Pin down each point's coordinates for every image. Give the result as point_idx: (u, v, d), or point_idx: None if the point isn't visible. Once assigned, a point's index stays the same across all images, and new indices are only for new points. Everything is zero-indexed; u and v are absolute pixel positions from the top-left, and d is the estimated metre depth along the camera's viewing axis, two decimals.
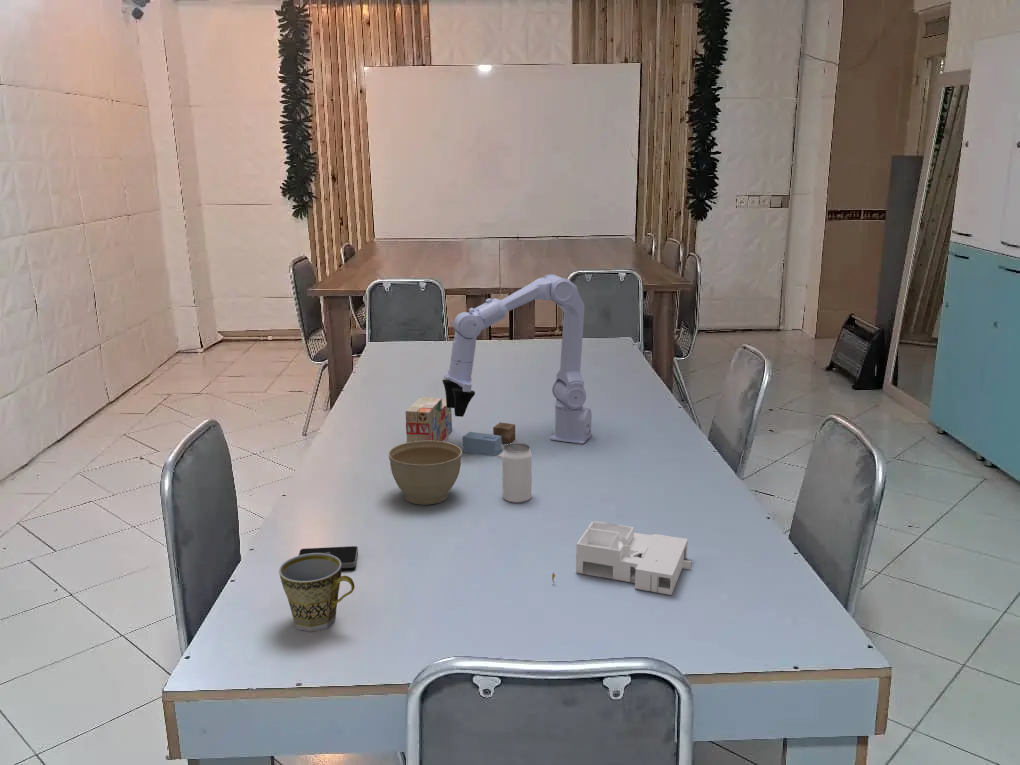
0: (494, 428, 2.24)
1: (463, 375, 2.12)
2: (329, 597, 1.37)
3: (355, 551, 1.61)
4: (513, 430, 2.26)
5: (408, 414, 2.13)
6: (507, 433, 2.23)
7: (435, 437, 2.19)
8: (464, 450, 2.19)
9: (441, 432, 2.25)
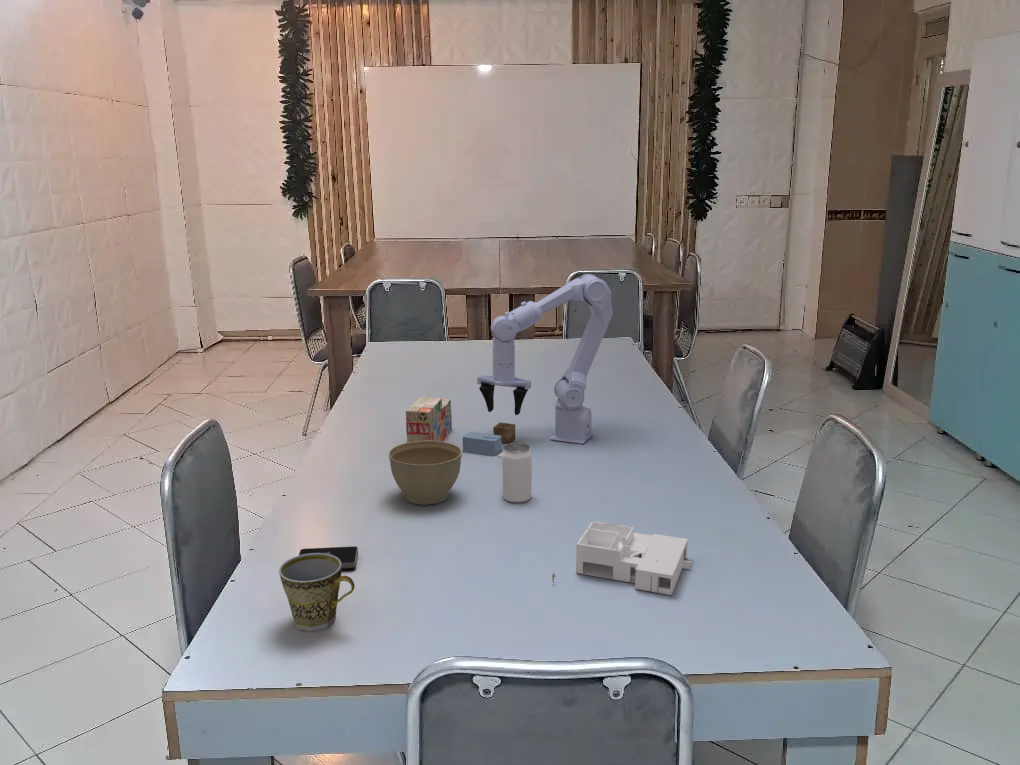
0: (494, 428, 2.24)
1: (513, 375, 2.20)
2: (329, 597, 1.37)
3: (355, 551, 1.61)
4: (513, 430, 2.26)
5: (408, 414, 2.13)
6: (507, 433, 2.23)
7: (436, 437, 2.19)
8: (464, 450, 2.19)
9: (441, 432, 2.25)
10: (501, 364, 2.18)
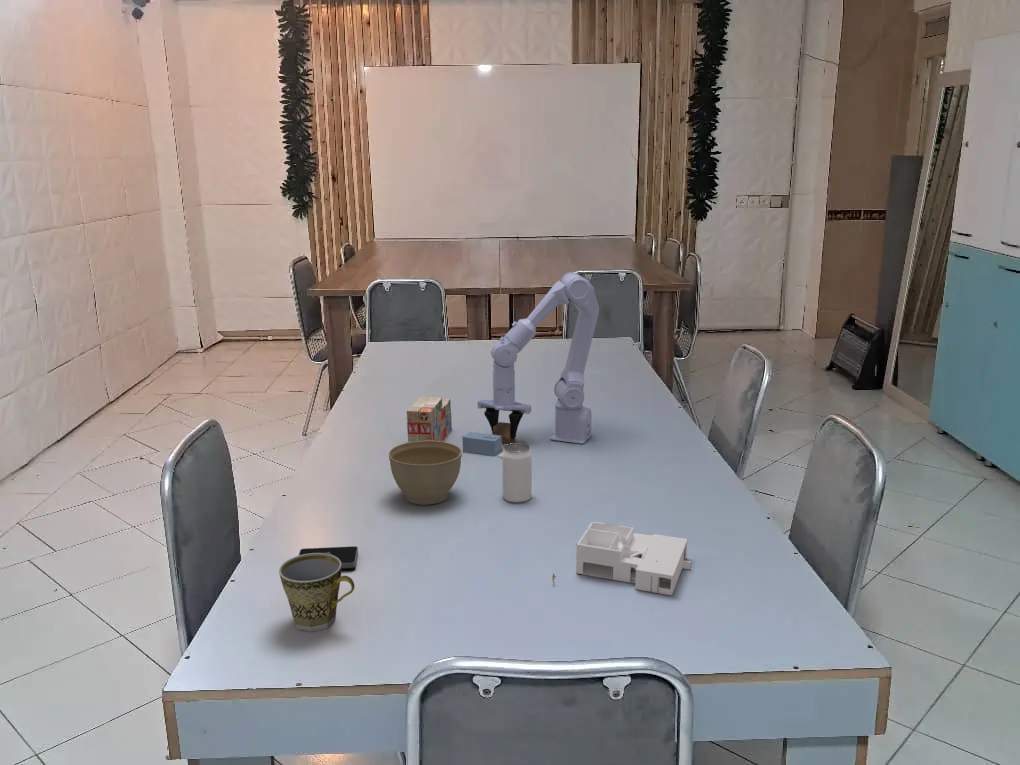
0: (494, 428, 2.24)
1: (513, 400, 2.22)
2: (329, 597, 1.37)
3: (355, 551, 1.61)
4: None
5: (409, 414, 2.14)
6: (507, 433, 2.23)
7: (436, 437, 2.20)
8: (464, 450, 2.19)
9: (441, 432, 2.25)
10: (501, 389, 2.20)
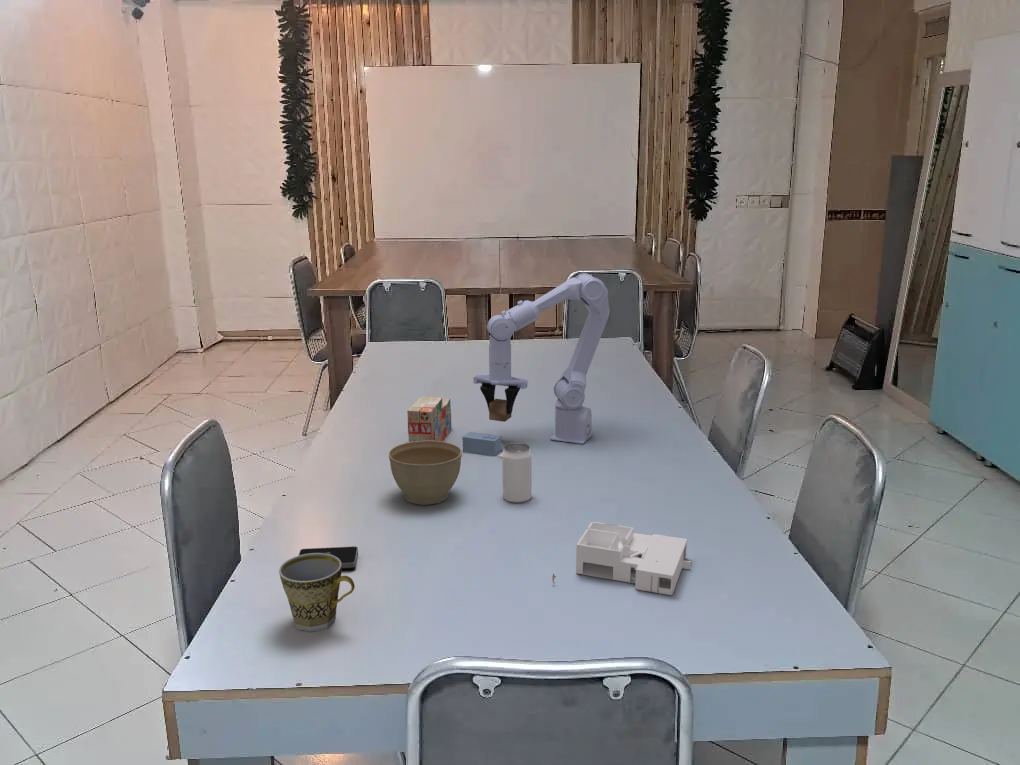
0: (490, 404, 2.21)
1: (510, 374, 2.20)
2: (329, 597, 1.37)
3: (355, 551, 1.61)
4: None
5: (410, 414, 2.14)
6: (503, 409, 2.20)
7: (437, 437, 2.20)
8: (464, 450, 2.19)
9: (442, 431, 2.25)
10: (497, 363, 2.17)
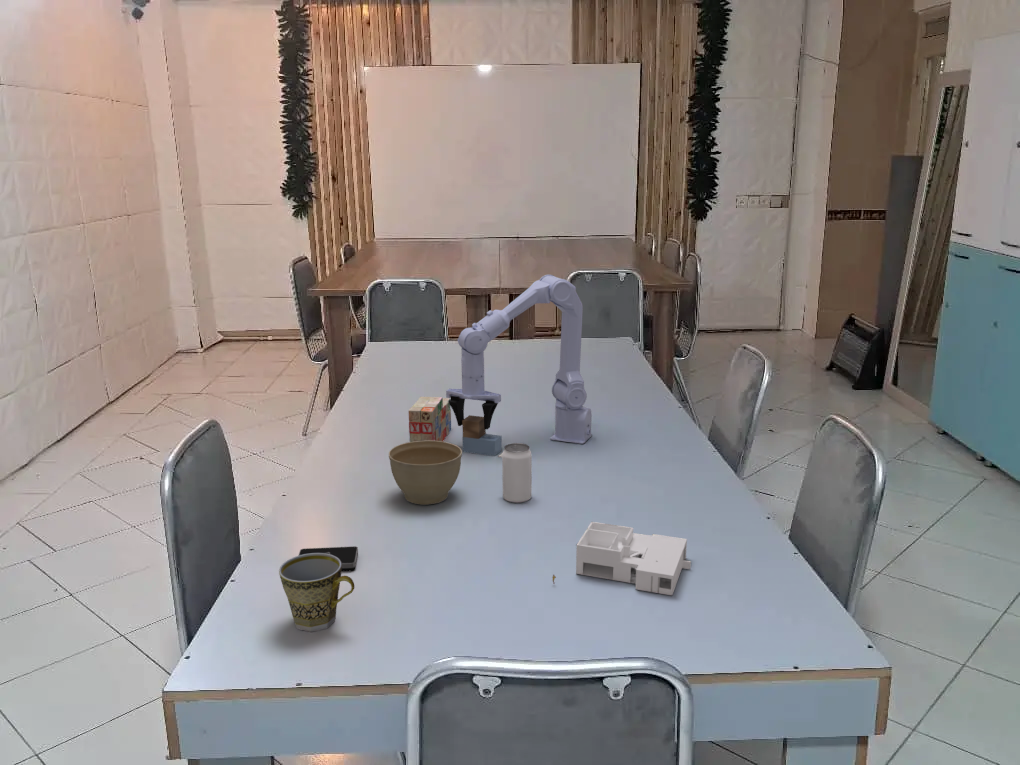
0: (463, 421, 2.17)
1: (483, 388, 2.14)
2: (329, 597, 1.37)
3: (355, 551, 1.61)
4: (483, 423, 2.18)
5: (411, 413, 2.14)
6: (477, 426, 2.16)
7: (438, 436, 2.20)
8: (464, 450, 2.19)
9: (442, 431, 2.26)
10: (470, 377, 2.12)
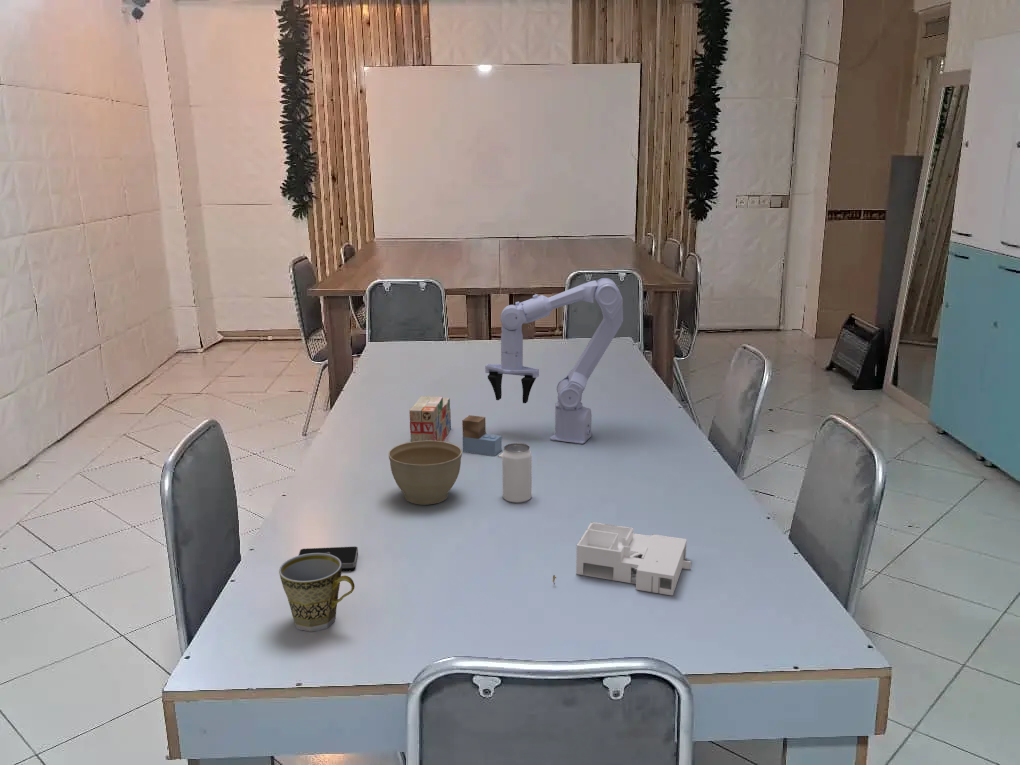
0: (463, 421, 2.17)
1: (521, 364, 2.23)
2: (329, 597, 1.37)
3: (355, 551, 1.61)
4: (483, 423, 2.18)
5: (412, 413, 2.14)
6: (477, 426, 2.16)
7: (438, 436, 2.20)
8: (464, 450, 2.19)
9: (442, 431, 2.26)
10: (509, 353, 2.20)
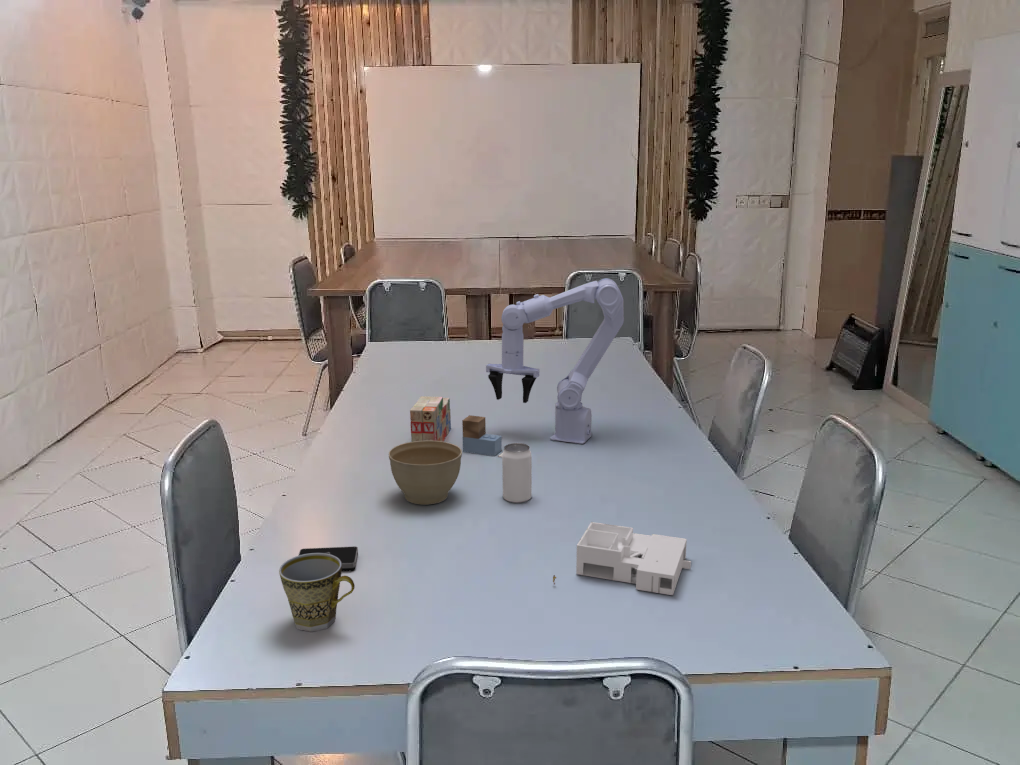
0: (463, 421, 2.17)
1: (522, 363, 2.23)
2: (329, 597, 1.37)
3: (355, 551, 1.61)
4: (483, 423, 2.18)
5: (413, 413, 2.14)
6: (477, 426, 2.16)
7: (439, 436, 2.20)
8: (464, 450, 2.19)
9: (443, 431, 2.26)
10: (510, 352, 2.21)
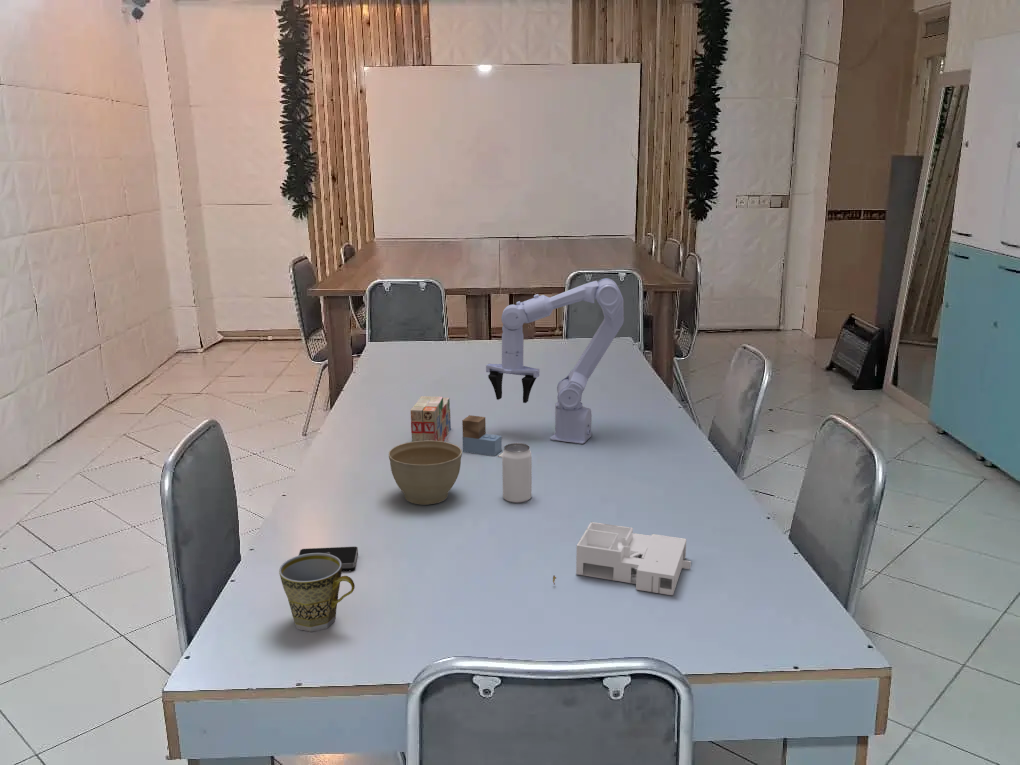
0: (463, 421, 2.17)
1: (522, 363, 2.23)
2: (329, 597, 1.37)
3: (355, 551, 1.61)
4: (483, 423, 2.18)
5: (413, 413, 2.14)
6: (477, 426, 2.16)
7: (439, 436, 2.20)
8: (464, 450, 2.19)
9: (443, 430, 2.26)
10: (510, 352, 2.21)
